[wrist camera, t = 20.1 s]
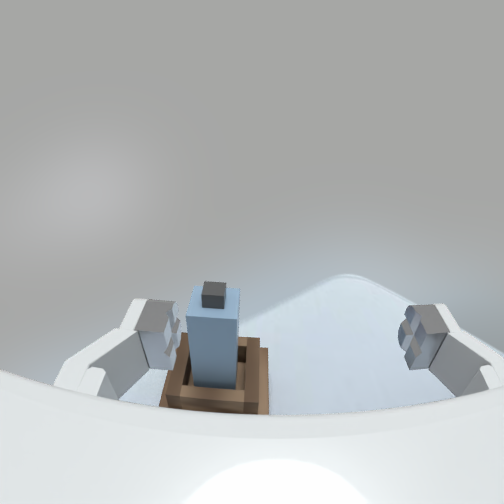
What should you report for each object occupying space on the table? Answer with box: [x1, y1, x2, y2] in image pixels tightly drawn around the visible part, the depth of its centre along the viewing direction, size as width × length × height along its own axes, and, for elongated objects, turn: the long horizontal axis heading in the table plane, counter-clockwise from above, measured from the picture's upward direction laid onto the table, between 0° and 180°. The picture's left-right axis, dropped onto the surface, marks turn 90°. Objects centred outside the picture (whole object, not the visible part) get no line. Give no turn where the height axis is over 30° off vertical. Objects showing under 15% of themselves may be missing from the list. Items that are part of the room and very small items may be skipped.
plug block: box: [186, 282, 240, 390], centre depth 32 cm, size 4×4×14 cm
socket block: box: [159, 332, 269, 415], centre depth 36 cm, size 12×12×9 cm
